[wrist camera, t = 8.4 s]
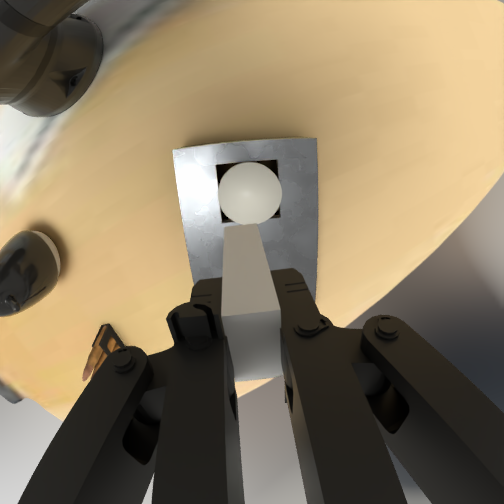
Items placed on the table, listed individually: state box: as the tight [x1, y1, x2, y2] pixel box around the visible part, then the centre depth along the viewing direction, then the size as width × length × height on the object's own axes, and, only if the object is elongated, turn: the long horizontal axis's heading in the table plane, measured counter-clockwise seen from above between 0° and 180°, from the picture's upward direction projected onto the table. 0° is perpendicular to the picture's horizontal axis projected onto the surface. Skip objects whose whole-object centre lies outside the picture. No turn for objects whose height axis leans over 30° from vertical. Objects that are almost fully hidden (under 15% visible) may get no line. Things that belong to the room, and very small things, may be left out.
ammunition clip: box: [83, 324, 125, 381], centre depth 36 cm, size 11×2×12 cm, turn 16°
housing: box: [172, 137, 318, 301], centre depth 32 cm, size 24×14×6 cm, turn 4°
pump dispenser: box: [0, 231, 60, 317], centre depth 27 cm, size 10×10×15 cm
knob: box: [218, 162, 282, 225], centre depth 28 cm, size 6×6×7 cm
